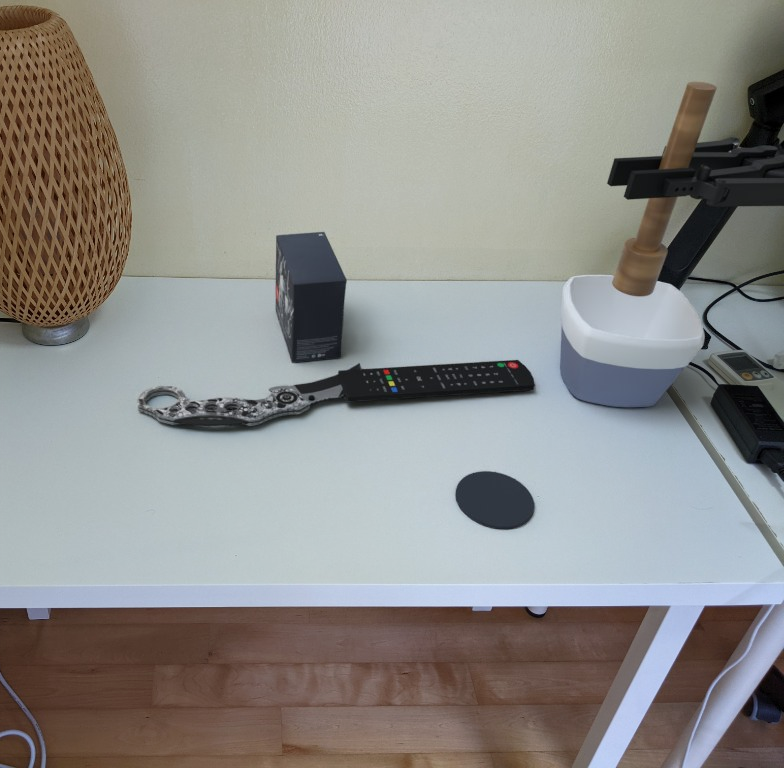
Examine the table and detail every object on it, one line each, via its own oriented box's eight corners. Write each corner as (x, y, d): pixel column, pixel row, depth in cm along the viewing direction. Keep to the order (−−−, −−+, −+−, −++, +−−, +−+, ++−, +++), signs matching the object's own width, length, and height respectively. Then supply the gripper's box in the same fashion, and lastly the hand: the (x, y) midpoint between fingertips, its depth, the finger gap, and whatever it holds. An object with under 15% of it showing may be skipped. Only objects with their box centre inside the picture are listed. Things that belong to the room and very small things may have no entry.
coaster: (550, 511, 80) (551, 509, 79) (491, 540, 76) (492, 537, 76) (496, 464, 85) (497, 461, 85) (439, 489, 82) (440, 486, 82)
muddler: (661, 290, 86) (737, 88, 73) (635, 300, 85) (707, 95, 71) (629, 273, 89) (696, 76, 76) (603, 282, 88) (667, 82, 74)
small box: (273, 310, 110) (274, 233, 102) (320, 306, 111) (325, 229, 103) (290, 364, 100) (293, 282, 92) (342, 359, 100) (349, 278, 93)
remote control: (337, 379, 96) (338, 370, 95) (519, 368, 100) (521, 359, 99) (346, 406, 92) (348, 397, 91) (536, 393, 95) (539, 384, 95)
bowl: (553, 413, 92) (577, 335, 86) (535, 341, 105) (555, 268, 98) (687, 425, 91) (722, 348, 84) (653, 351, 103) (681, 278, 96)
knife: (360, 358, 98) (383, 403, 90) (359, 368, 99) (382, 414, 91) (135, 381, 94) (139, 431, 86) (136, 392, 95) (140, 442, 87)
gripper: (865, 233, 78) (651, 248, 74) (762, 172, 90) (574, 183, 87) (904, 161, 73) (677, 173, 70) (790, 107, 85) (592, 115, 82)
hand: (621, 178), depth 78 cm, fingers closed on muddler, 3 cm apart
